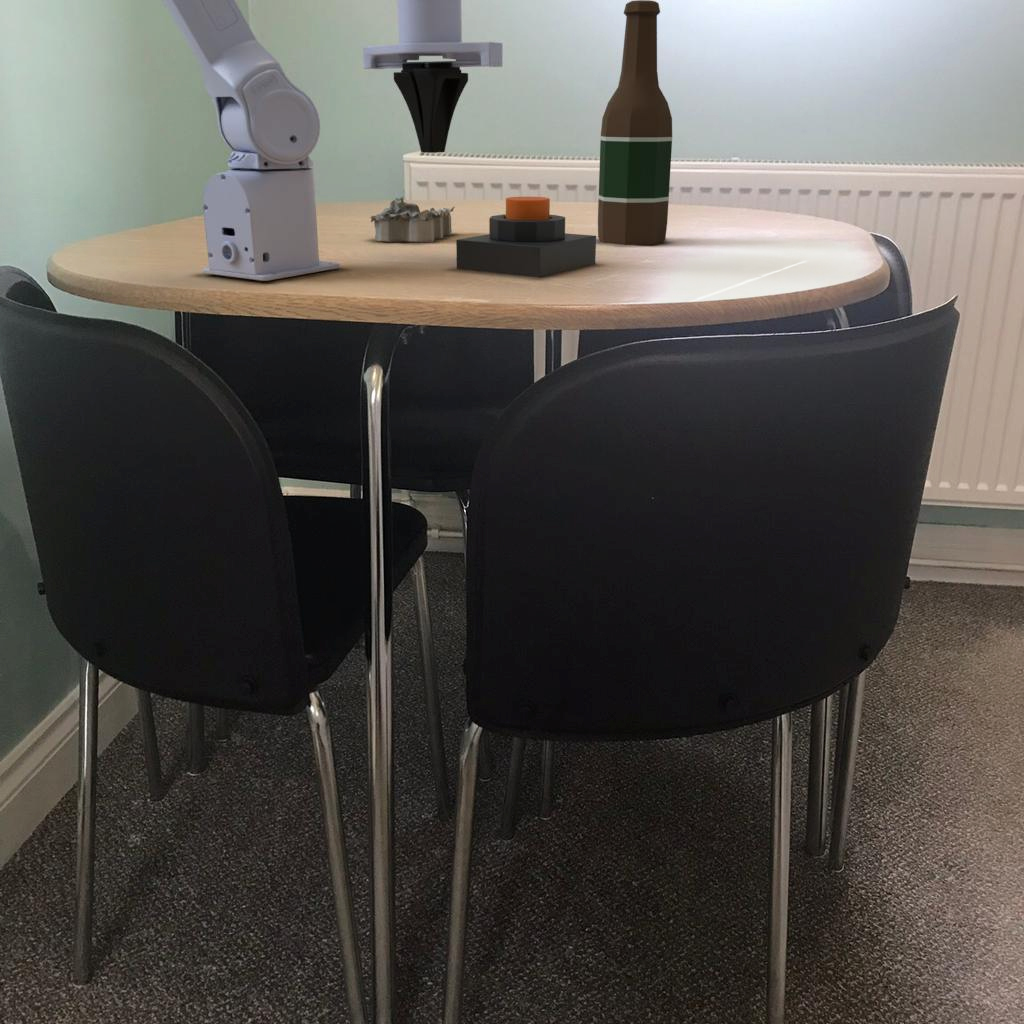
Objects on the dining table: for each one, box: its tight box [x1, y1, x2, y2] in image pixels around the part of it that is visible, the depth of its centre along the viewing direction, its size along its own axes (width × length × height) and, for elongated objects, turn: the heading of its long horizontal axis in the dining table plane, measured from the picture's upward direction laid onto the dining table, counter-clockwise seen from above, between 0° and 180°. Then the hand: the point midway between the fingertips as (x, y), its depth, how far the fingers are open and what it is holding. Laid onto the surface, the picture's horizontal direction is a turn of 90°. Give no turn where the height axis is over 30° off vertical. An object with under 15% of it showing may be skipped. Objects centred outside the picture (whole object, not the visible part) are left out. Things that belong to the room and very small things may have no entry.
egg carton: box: [370, 196, 456, 243], centre depth 115 cm, size 11×8×4 cm
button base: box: [455, 213, 597, 279], centre depth 94 cm, size 10×9×4 cm
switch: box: [505, 196, 551, 220], centre depth 93 cm, size 4×4×2 cm
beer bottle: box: [597, 0, 673, 246], centre depth 108 cm, size 8×8×24 cm
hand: (432, 152), depth 95 cm, fingers closed
